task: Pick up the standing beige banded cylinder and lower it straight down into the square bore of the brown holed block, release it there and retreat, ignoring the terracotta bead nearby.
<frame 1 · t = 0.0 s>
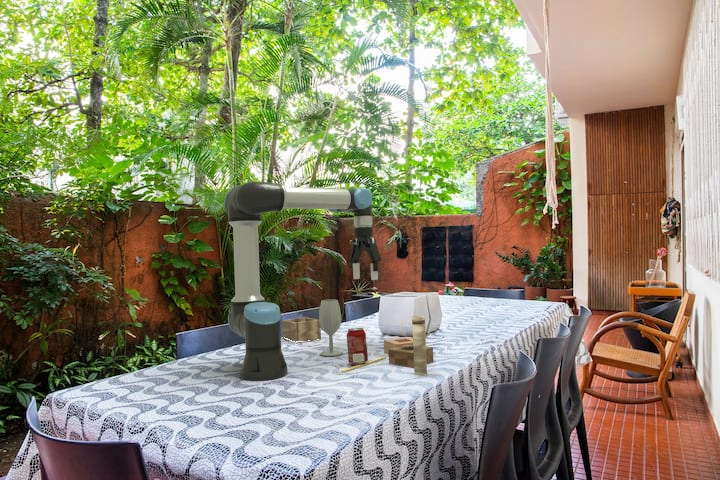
hand: (365, 279, 204), 28 cm above the table, fingers open, 13 cm apart
soda can: (358, 363, 176), on the table, touching thin yellow stick
wineglass: (331, 355, 194), on the table
beige banded cylinder: (420, 373, 160), on the table
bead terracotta: (403, 353, 191), on the table
fruit crate: (301, 339, 230), on the table
brown holed block: (411, 362, 175), on the table
thin yellow stick: (365, 364, 175), on the table
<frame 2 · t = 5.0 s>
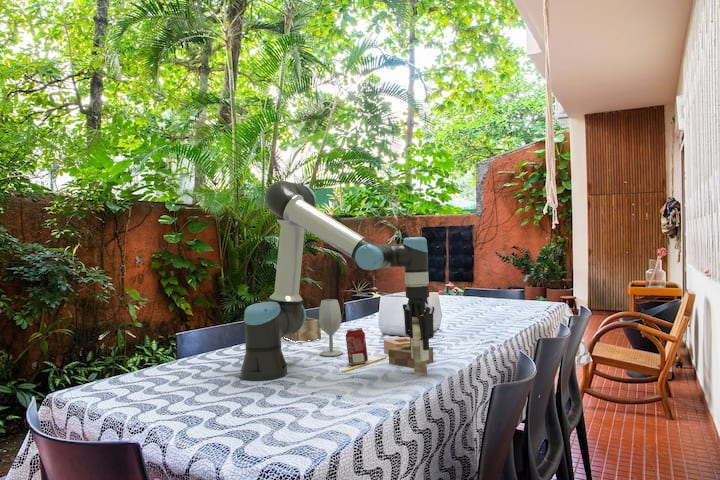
hand: (420, 358, 160), 5 cm above the table, fingers closed on beige banded cylinder, 4 cm apart
soda can: (358, 364, 176), on the table, touching thin yellow stick
beige banded cylinder: (420, 373, 160), on the table, touching gripper
everything else where it was.
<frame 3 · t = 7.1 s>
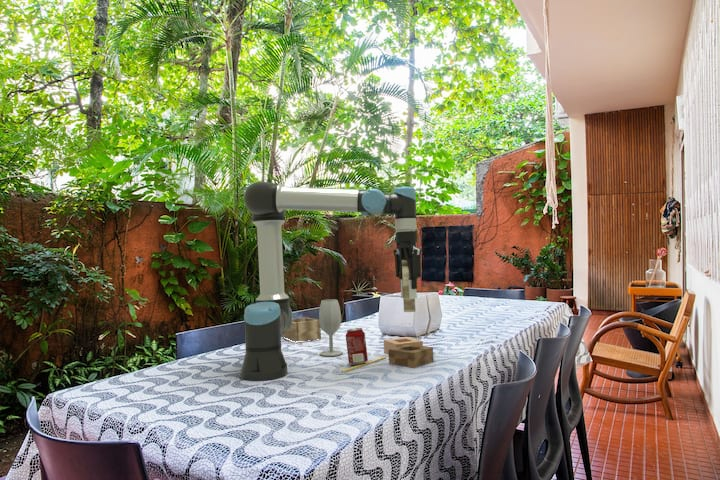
hand: (408, 298, 175), 23 cm above the table, fingers closed on beige banded cylinder, 4 cm apart
beige banded cylinder: (409, 311, 175), point 18 cm above the table, touching gripper
everything else where it was.
when the fingers open (7 cm above the table, at t = 9.7 s): beige banded cylinder stays where it is, resting in brown holed block.
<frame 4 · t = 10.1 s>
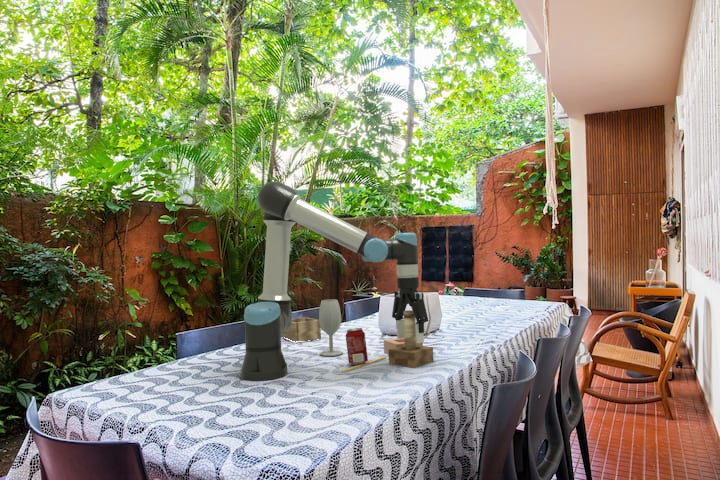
hand: (410, 340, 176), 8 cm above the table, fingers open, 10 cm apart
beige banded cylinder: (411, 362, 175), resting in brown holed block
everything else where it was.
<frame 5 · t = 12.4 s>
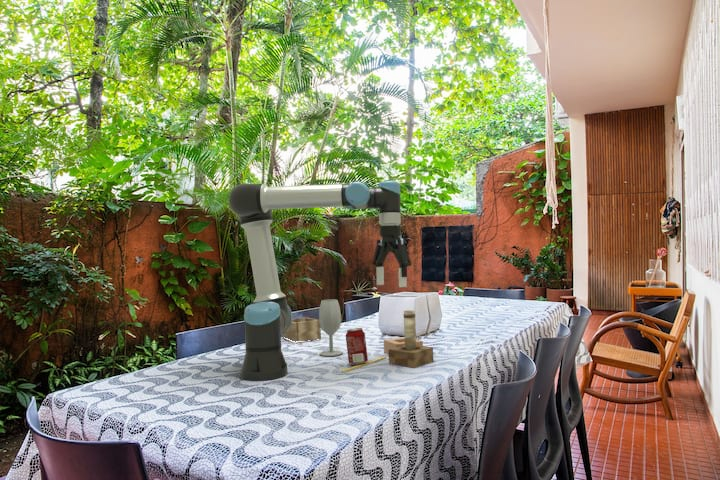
hand: (391, 285, 176), 27 cm above the table, fingers open, 13 cm apart
nothing on the table moved.
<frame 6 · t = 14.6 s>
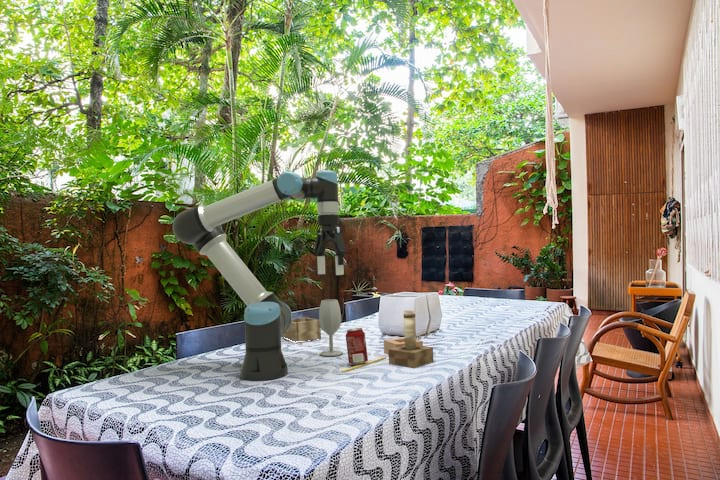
hand: (330, 274, 178), 32 cm above the table, fingers open, 13 cm apart
nothing on the table moved.
at the end: beige banded cylinder 0.0 cm off-centre on the brown holed block, point 0.0 cm above the brown holed block's base; beige banded cylinder tilted 0°; the gripper is holding nothing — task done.
